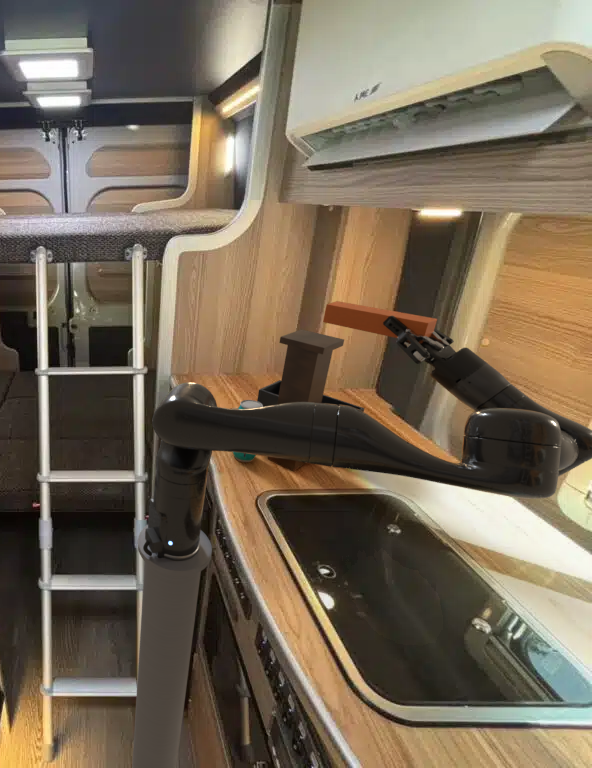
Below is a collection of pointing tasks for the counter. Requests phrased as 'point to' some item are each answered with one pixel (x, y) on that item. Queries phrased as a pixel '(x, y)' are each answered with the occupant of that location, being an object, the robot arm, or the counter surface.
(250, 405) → the beverage can
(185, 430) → the robot arm
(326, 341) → the pedestal
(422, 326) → the orange rectangular bar
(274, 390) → the black storage bin
